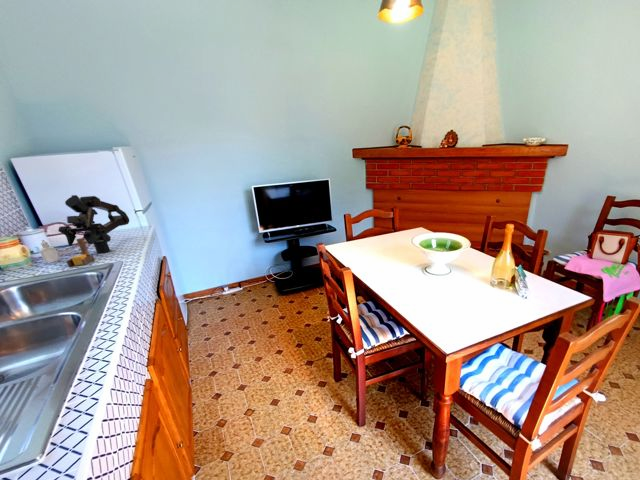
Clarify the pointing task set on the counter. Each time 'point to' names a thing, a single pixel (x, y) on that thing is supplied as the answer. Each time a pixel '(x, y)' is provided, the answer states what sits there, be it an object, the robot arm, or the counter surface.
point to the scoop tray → (84, 251)
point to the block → (78, 259)
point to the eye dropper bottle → (48, 253)
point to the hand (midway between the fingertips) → (80, 244)
